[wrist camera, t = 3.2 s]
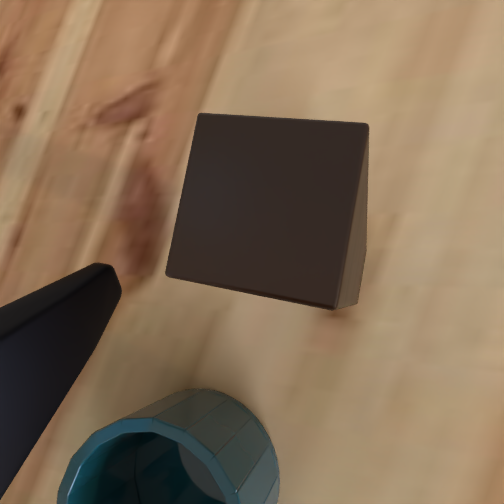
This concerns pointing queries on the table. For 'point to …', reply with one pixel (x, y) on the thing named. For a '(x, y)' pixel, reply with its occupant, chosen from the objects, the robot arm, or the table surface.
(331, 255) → the brown square bar
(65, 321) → the robot arm
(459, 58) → the table surface
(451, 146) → the table surface
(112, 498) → the coffee cup
